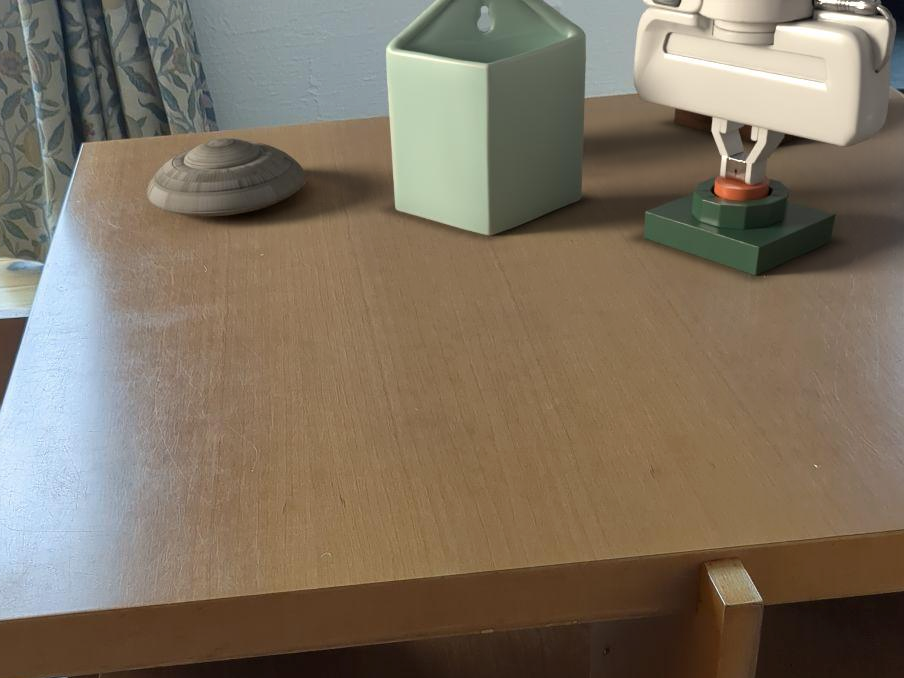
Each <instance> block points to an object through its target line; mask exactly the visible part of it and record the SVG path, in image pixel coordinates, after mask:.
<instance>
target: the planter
mask: <svg viewBox="0 0 904 678" xmlns="http://www.w3.org/2000/svg"><path fill="white" fill-rule="evenodd" d="M482 7H486V8H487V14H488V17H489V18H490V21H491V27H490V28H489V29H488V30H486V31H483V30H481V29H480V28H479V25H478V23H479V20H480V18H481V16H482ZM385 64H386V65H385V66H386V67H385V68H386V69H385V70H386V84H387V85H386V87H387V100H388V101H387V102H388V116H389V117H388V118H389V129H390V130H389V131H390V144H391V146H390V147H391V161H392V176H393V177H392V178H393V193H394V194H393V195H394V207H395V210H396V211H398V212H401V213H403V214H404V213H405V214H408V215H411V216H415V217H419V218H423V219H426V220H430V221H434V222H436V223H440V224H443V225H447V226H451V227H454V228H458V229H461V230H463V231H468V232H473V233H476V234H481V235H484V236H490V237H491V236H494V235H497V234H500V233H503V232H506V231H508V230H511V229H514V228H517V227H518V226H521V225H524V224H526V223H528V222H531V221H533V220H536V219H538V218H540V217H542V216H545V215H547V214H549V213H551V212H554V211H557V210H559V209H562V208H563V207H566V206H570V205H573V204H574V203H576V202H578V201H580V200H581V199H582V194H583V193H582V192H583V191H582V190H583V189H582V188H583V163H584V162H583V161H584V159H583V158H584V157H583V156H584V128H585V99H586V98H585V97H586V96H585V95H586V70H587V69H586V67H587V65H586V64H587V36H586V32H585V31H584V29H583V28H581V27H580V26H578V25H577V24H576V23H575V22H573V21H572V20H570V19H569V18H567V17H566V16H564V14H562V13H561V12H560V11H558V10H556V8H554V7H553V6H552V5H550V4H549V3H547V2H546V1H545V0H435V1H433V2H432V3H431V4H430V5H429V6H428V7H427V8H426V9H425V10H423V11H422V12H421V14H419V15H418V16H417V17H416V18H415V19H414V20H413V21H411V22H410V24H409V25H407V26H406V27H405V28H404V29H403V30H402V31H400V32H399V33H398V34H397V35H396V36H395V37H393V39H392V40H391V41H390V42H389V43H388V44H387V46H386V49H385Z"/></svg>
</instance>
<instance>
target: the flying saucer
mask: <svg viewBox="0 0 904 678" xmlns="http://www.w3.org/2000/svg"><path fill="white" fill-rule="evenodd" d="M307 177H308V176H307V172H306V171H305V169H304V168H303V167H302V166H301V164H300V163H299V162H298V161H297V160H296V159H295V158H293V157H292V156H291V155H289V154H288V153H287V152H285V151H283V150H281V149H279V148H277V147H275V146H271V145H269V144H266V143H262V142H258V141H250V140H243V139H239V138H227V137H226V138H224V137H223V138H215V139H211V140H208V141H205V142H203V143H201V144H198V145H197V146H195V147H191V148H189V149H186V150H184V151H182V152H180V153H178V154H176V155H175V156H173V157H172V158H171V159H169V160H168V161H167V162H165V163H163V165H162V166H161V167H160V168H159V169H158V170H157V171H156V173H155V174H154V176H152V179H151V180H150V182H149V184H148V187H147V188H146V192H145V194H146V195H145V197H146V200H147V201H148V202H149V203H151V205H153V206H154V207H156V208H158V209H160V210H162V211H165V212H168V213H172V214H176V215H181V216H188V217H189V216H191V217H221V216H231V215H239V214H244V213H248V212H254V211H258V210H261V209H265V208H267V207H270V206H273V205H276V204H278V203H280V202H282V201H283V202H284V201H285V200H286V199H288V198H290V197H291V196H293V195H294V194H296V193H298V191H300V190H301V189H302V187H303V186H304V185H305V184H306V182H307V180H308V179H307Z"/></svg>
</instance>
